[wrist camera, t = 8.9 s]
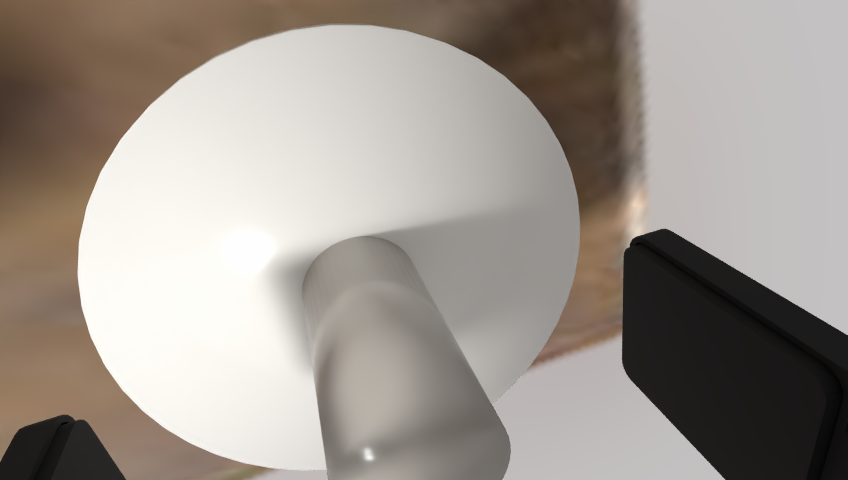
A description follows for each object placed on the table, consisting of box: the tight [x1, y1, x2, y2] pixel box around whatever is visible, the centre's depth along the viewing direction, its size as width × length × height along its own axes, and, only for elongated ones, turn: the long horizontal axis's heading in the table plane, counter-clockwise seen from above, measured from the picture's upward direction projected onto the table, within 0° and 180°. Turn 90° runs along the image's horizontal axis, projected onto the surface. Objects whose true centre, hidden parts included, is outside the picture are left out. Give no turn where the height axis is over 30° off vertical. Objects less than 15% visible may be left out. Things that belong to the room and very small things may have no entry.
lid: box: [78, 23, 580, 480], centre depth 10 cm, size 11×11×6 cm
